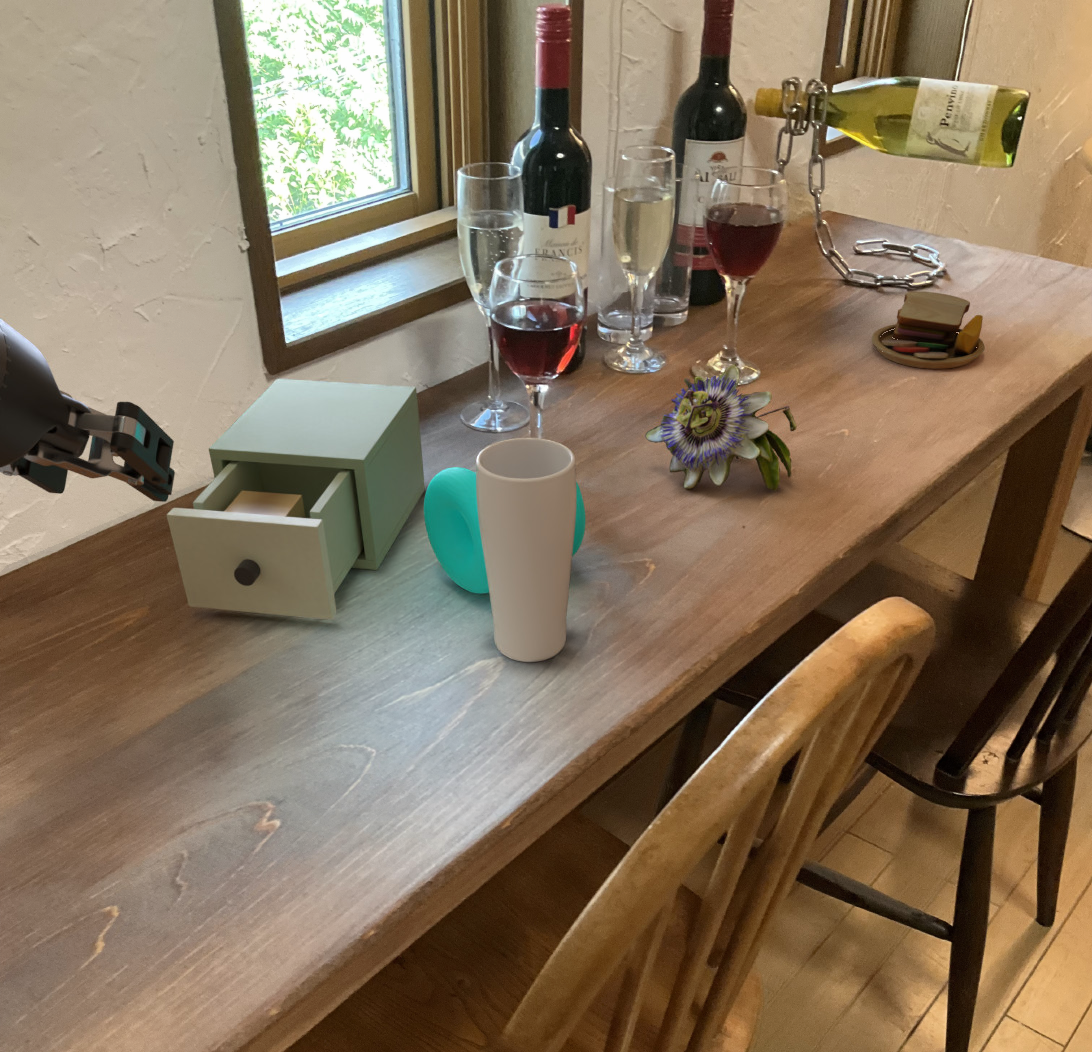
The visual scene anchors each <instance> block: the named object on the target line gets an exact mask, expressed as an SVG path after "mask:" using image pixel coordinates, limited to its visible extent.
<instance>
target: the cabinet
mask: <svg viewBox="0 0 1092 1052" xmlns="http://www.w3.org/2000/svg"><path fill="white" fill-rule="evenodd" d="M417 393H418V391H417V387H416V386H407V385H391V384H390V385H388V384H375V383H374V384H373V383H356V382H341V381H325V380H324V381H323V380H307V379H291V378H276V380H274V381H273V382H272V383H271V384H270V385H269V386H268V387H267V389H266V390H264V391H263V392H262V393H261V395H259V397H258V398H257V399H256V400H255V401H253V402H252V404H251V405H250V406H249V407H248V408H247V409H246V410H245V411H244V412H243V413H241V415H240V416H239V417H238V418H237V419H236V420H235V421H234V422H233V423H232V424H231V425H230V426H229V427H228V428H227V429H226V430H225V431H224V432H223V433H222V434H221V435H220V437H218V438H217V439H216V440H215V441H214V442H213V444H211V446H209V447H208V454H209V458H210V463H211V467H212V468H211V469H212V473H213V477H214V479H215V478H216V477H217V476H218V475H219V473H220V472H221V471H222V470H223V469H224V468H225V467H226V466H227V465H228V464H229V463H230V462H231V461H246V462H259V463H273V464H286V465H300V466H314V467H327V468H341V469H354V472H355V479H356V487H357V495H358V503H359V511H360V519H361V526H362V534H363V542H364V548H363V549H362V551H361V553H360V554H359V556H358V557H357V559H356V560H355V562H354V564H353V565H352V567H351V568H350V569H359V570H372V571H378V569H379V567H380V566H381V564H382V563H383V561H384V559H385V558H386V556H387V554H388V553H389V550H390V549H391V547H392V546H393V544H394V542H395V540H396V539H397V537H398V535H399V534H400V533H401V531H402V529H403V527H404V525H405V524H406V522H407V521H408V519H409V517H410V516H411V513H412V512H413V510H414V508H415V507H416V505H417V504H418V502H419V500H420V499H421V497H422V495H423V494H424V492H425V490H426V485H425V475H424V474H425V472H424V462H423V461H424V460H423V450H422V438H421V428H420V427H421V426H420V413H419V404H418V394H417Z"/></svg>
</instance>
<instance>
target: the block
mask: <svg viewBox="0 0 1092 1052" xmlns="http://www.w3.org/2000/svg"><path fill="white" fill-rule="evenodd" d="M224 512H235V513H247V514H259V515H272V516H284V517H296V518H306V517H305V511H304V505H303V499H302V495H294V494H281V493H268V492H255V491H241V492H240V494H239V495H238V496H237V497H236V498H235V499H234V500H233V502H232V503H231V504H230V505H229V506H228V507H227V509H226V510H225V511H224Z"/></svg>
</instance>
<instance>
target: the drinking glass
mask: <svg viewBox="0 0 1092 1052" xmlns="http://www.w3.org/2000/svg"><path fill="white" fill-rule="evenodd" d="M576 467H577V466H576V457H575V454H574V452H573V451H572V450H571V449H570V448H569V447H567V446H566V445H564V444H562V443H560V442H558V441H554V440H550V439H546V438H538V437H516V438H510V439H504V440H500V441H497V442H494V443H492V444H489V445H487V446H486V447H484V449H482V450H481V451H479V453H478V454H477V456H476V459H475V473H476V496H477V510H478V520H479V528H480V535H481V541H482V548H483V554H484V561H485V567H486V574H487V580H488V587H489V593H488V595H489V600H490V607H491V615H492V623H493V640H494V643H495V646H496V648H497V650H498V651H499V652H500V653H501V654H502V655H504V656H505V657H506V658H509V659H511V660H512V661H513V660H514V661H517V662H522V663H523V662H524V663H537V662H542V661H546V660H548V659H551V658H553V657H555V656H556V655H558V653H560V652H561V651H562V650H563V648H564V647H565V645H566V641H567V616H568V605H569V595H570V594H569V592H570V585H571V584H570V583H571V571H572V562H573V557H572V553H573V543H574V533H575V521H576V481H577V468H576Z"/></svg>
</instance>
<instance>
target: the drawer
mask: <svg viewBox="0 0 1092 1052" xmlns="http://www.w3.org/2000/svg"><path fill="white" fill-rule="evenodd" d="M241 491H255V492H268V493H281V494H294V495H302V499H303V505H304V511H305V517H306V518H296V517H284V516H272V515H259V514H247V513H235V512H224V511H225V510H226V509H227V507H228V506H229V505H230V504H231V503H232V502H233V500H234V499H235V498H236V497H237V496H238V495H239V494H240V492H241ZM192 506H193V508H184V507H172V508H171V509H170V511H169V512H168V513H166V519H167V523H168V528H169V532H170V535H171V540H172V543H173V547H174V551H175V555H176V560H177V563H178V569H179V571H180V575H181V580H182V584H183V588H184V592H185V595H186V600H187V604H188V607H191V608H200V609H201V608H202V609H213V610H223V611H235V612H243V613H253V614H254V613H255V614H264V615H265V614H266V615H276V616H286V617H297V618H308V619H315V620H316V619H317V620H328V621H331V620H333V619H334V617H335V615H336V613H337V605H336V599H335V594H336V592H337V591H338V589H339V587H340V586H341V584H342V583H343V581H344V579H345V578H346V576H347V575H348V573H349V572H350V571H351V569H352V568H351V567H352V565H353V564H354V562H355V560H356V559H357V557H358V556H359V554H360V553H361V551H362V549H363V548H364V542H363V534H362V526H361V519H360V511H359V503H358V495H357V487H356V479H355V472H354V469H341V468H327V467H314V466H300V465H286V464H273V463H259V462H246V461H231V462H230V463H229V464H228V465H227V466H226V467H225V468H224V469H223V470H222V471H221V472H220V473H219V475H218V476H217V477H216V478H214V479H213V480H212V481H211V482H210V483H209V484H208V485H207V487H205V488H204V489H203V490H202V492H200V493H199V495H198V496H197V497H196V498H195V499H194V500H193V502H192Z"/></svg>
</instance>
